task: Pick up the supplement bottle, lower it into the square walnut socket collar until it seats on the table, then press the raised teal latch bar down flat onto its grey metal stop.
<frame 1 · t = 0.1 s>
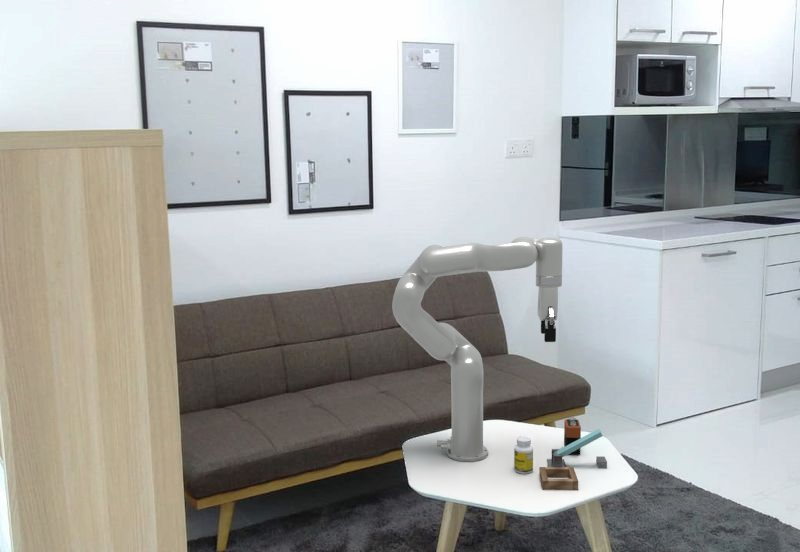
hand: (548, 337, 250), 37 cm above the table, tool pointing down, fingers open, 9 cm apart
supplement bottle: (523, 471, 246), on the table
latch bar: (577, 444, 247), point 6 cm above the table, hinge at 30.0°
socket: (558, 482, 237), on the table
battery: (572, 451, 259), on the table
latch bracket: (556, 465, 249), on the table
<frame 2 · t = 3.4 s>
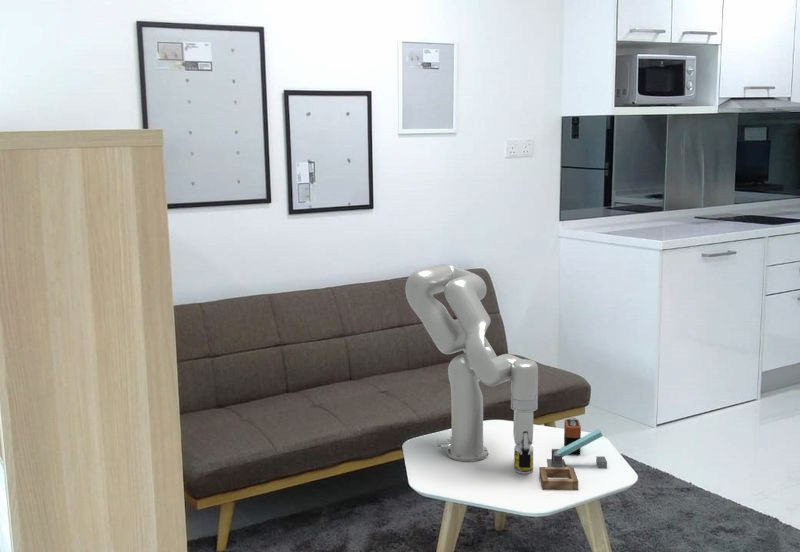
hand: (523, 462, 245), 3 cm above the table, tool pointing down, fingers closed on supplement bottle, 5 cm apart
supplement bottle: (523, 471, 246), on the table, touching gripper
everything else where it was.
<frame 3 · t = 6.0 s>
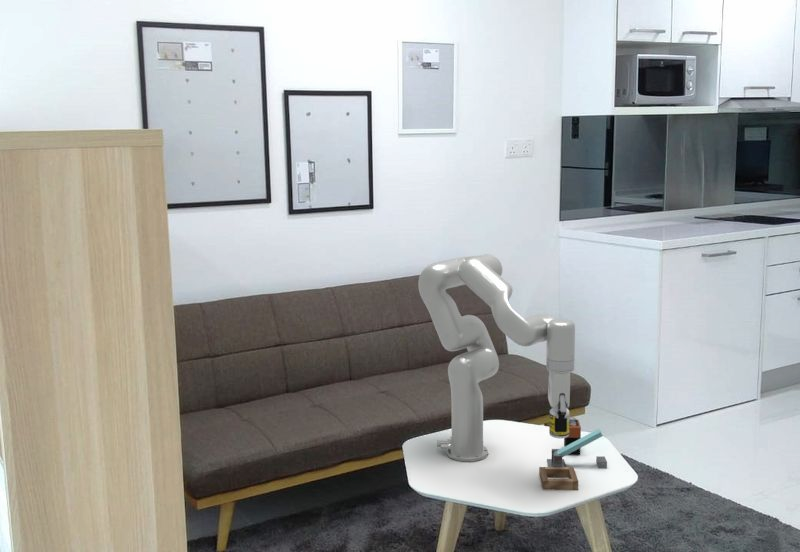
hand: (559, 426, 234), 16 cm above the table, tool pointing down, fingers closed on supplement bottle, 5 cm apart
supplement bottle: (559, 436, 235), point 14 cm above the table, touching gripper
everything else where it was.
when the fingers open (3 cm above the table, at t = 8.6 s): supplement bottle stays where it is, resting in socket.
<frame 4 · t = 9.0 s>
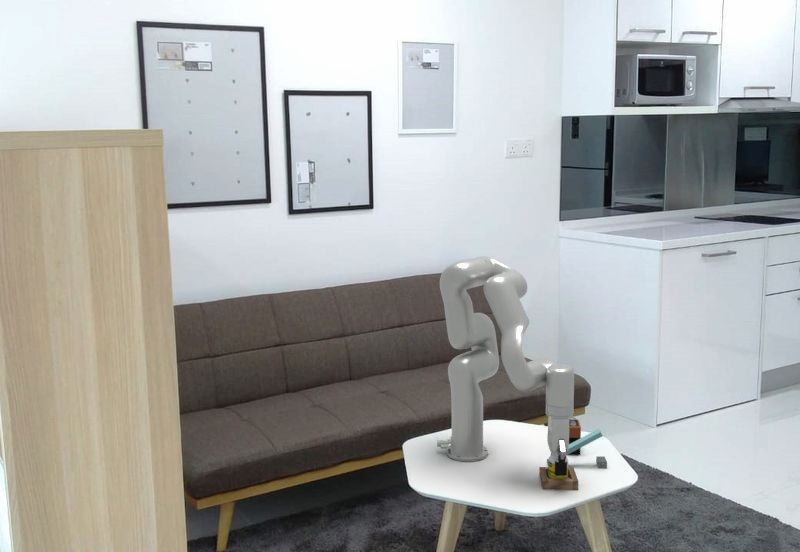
hand: (558, 468, 236), 4 cm above the table, tool pointing down, fingers open, 9 cm apart
supplement bottle: (557, 483, 237), resting in socket
everything else where it was.
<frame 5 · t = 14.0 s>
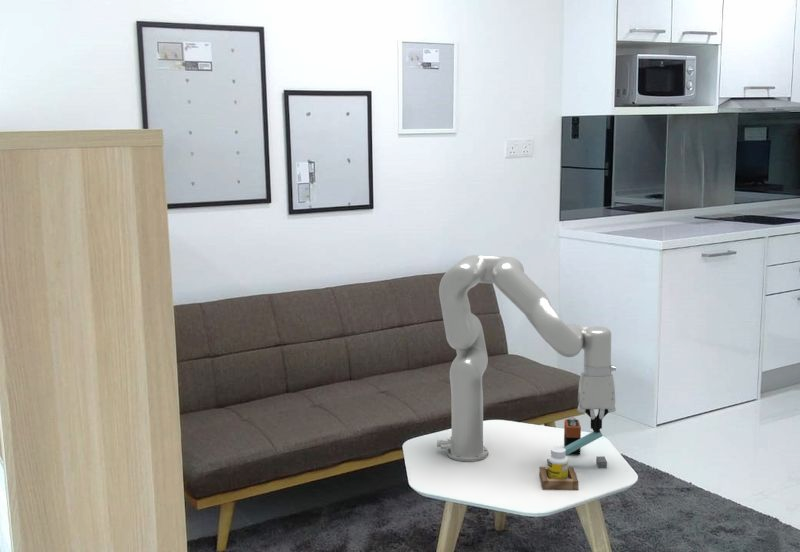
hand: (596, 430, 246), 11 cm above the table, tool pointing down, fingers closed
latch bar: (577, 444, 247), point 6 cm above the table, hinge at 30.0°, touching gripper
everything else where it was.
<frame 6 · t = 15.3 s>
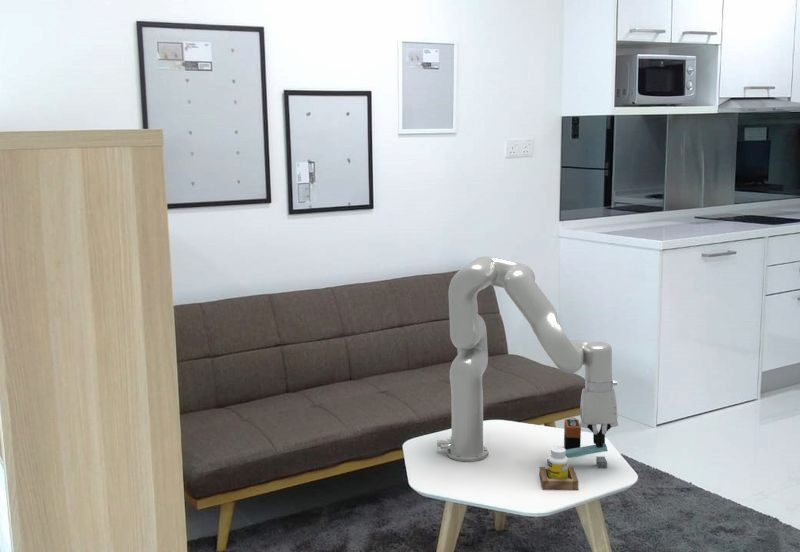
hand: (599, 445, 247), 6 cm above the table, tool pointing down, fingers closed
latch bar: (579, 451, 248), point 4 cm above the table, hinge at 11.1°, touching gripper
everything else where it was.
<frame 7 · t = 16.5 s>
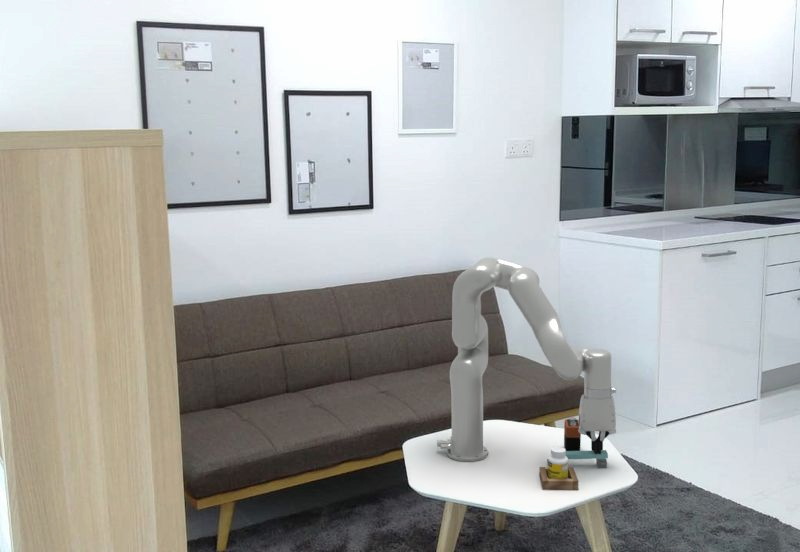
hand: (597, 452, 247), 4 cm above the table, tool pointing down, fingers closed
latch bar: (580, 454, 248), point 3 cm above the table, hinge at 2.2°, touching gripper
everything else where it was.
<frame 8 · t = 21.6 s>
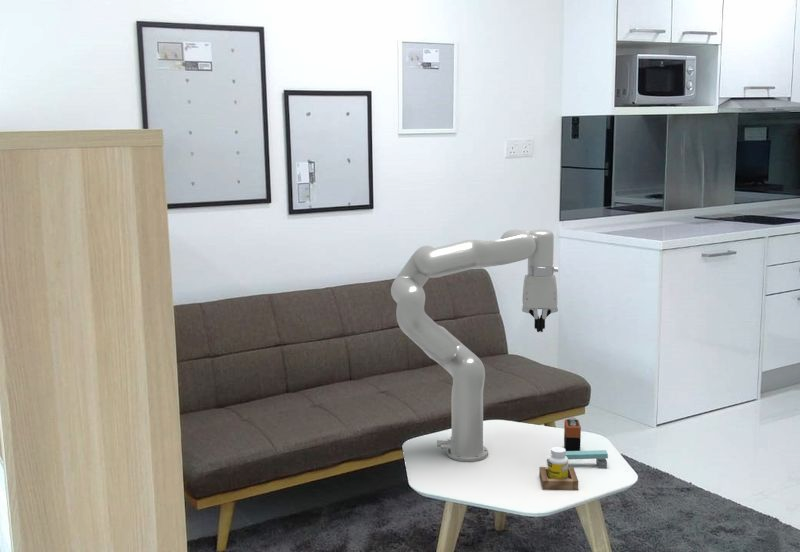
hand: (539, 330, 256), 37 cm above the table, tool pointing down, fingers closed
latch bar: (580, 454, 248), point 3 cm above the table, hinge at 2.0°
everything else where it was.
at the end: supplement bottle 0.1 cm from the socket (horizontally); supplement bottle tilted 0°; latch bar at +2° (first picture: +30°) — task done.
